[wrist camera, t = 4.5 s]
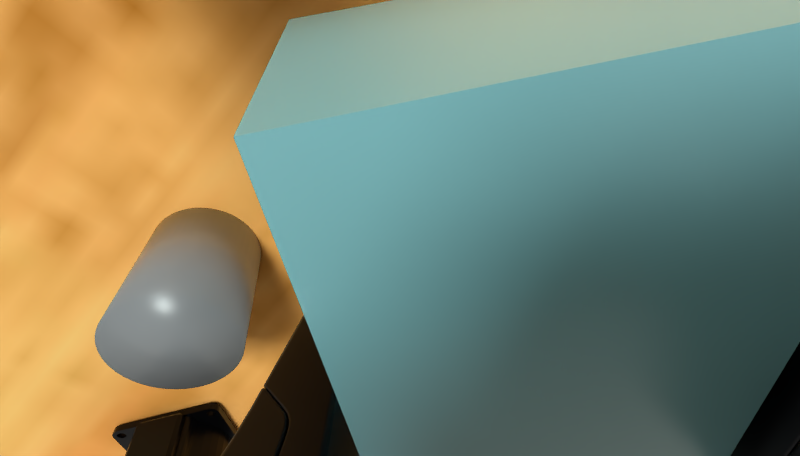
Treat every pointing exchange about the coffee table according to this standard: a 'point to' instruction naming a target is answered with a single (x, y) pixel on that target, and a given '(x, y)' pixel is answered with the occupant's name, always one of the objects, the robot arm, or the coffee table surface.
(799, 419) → the robot arm
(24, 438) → the coffee table surface
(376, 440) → the teal long brick
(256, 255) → the grey cylinder
